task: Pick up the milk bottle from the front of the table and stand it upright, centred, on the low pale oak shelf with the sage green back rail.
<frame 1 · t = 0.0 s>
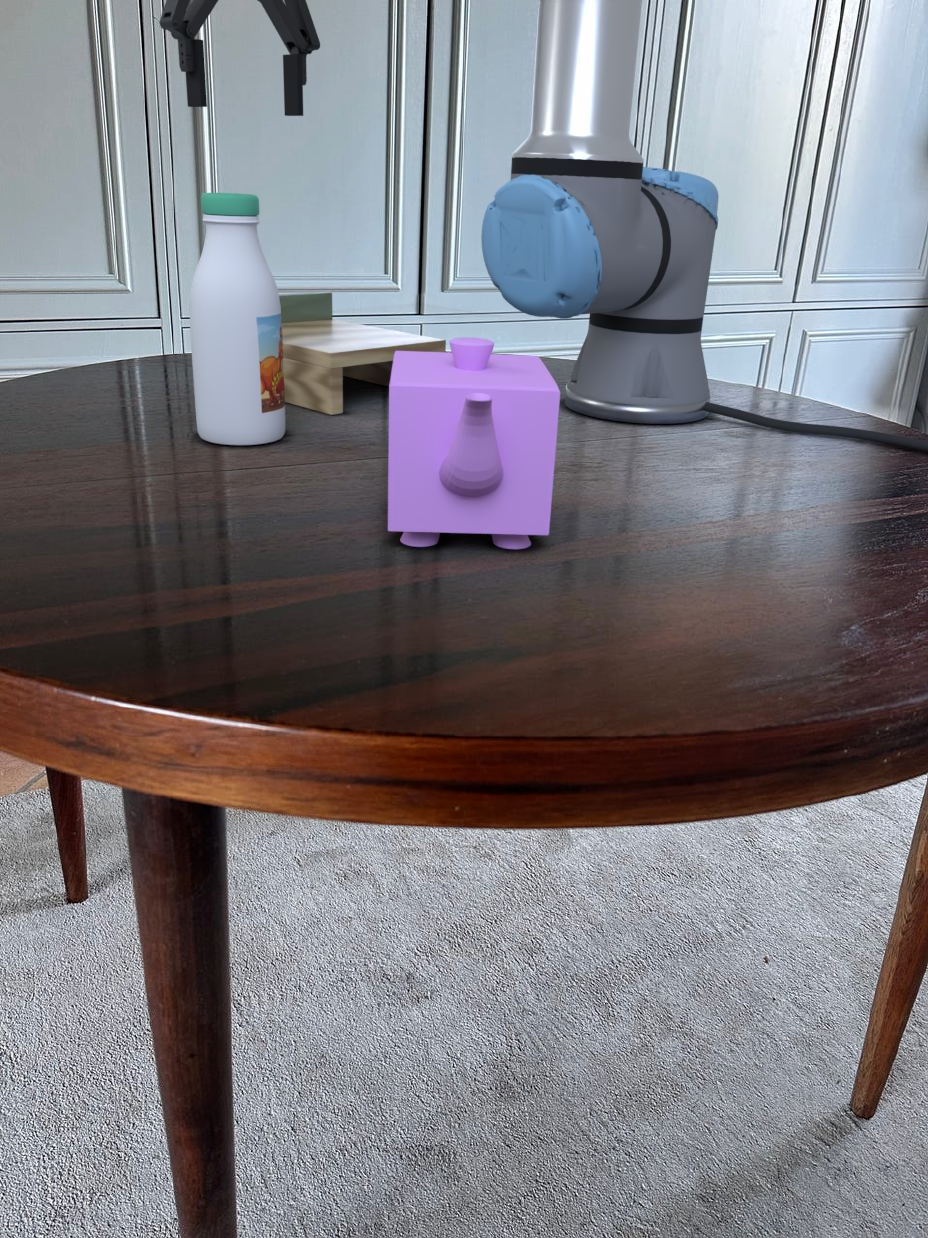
hand: (247, 111, 116), 28 cm above the table, tool pointing down, fingers open, 13 cm apart
shelf: (329, 389, 109), on the table
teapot: (464, 536, 67), on the table
milk bottle: (242, 438, 88), on the table
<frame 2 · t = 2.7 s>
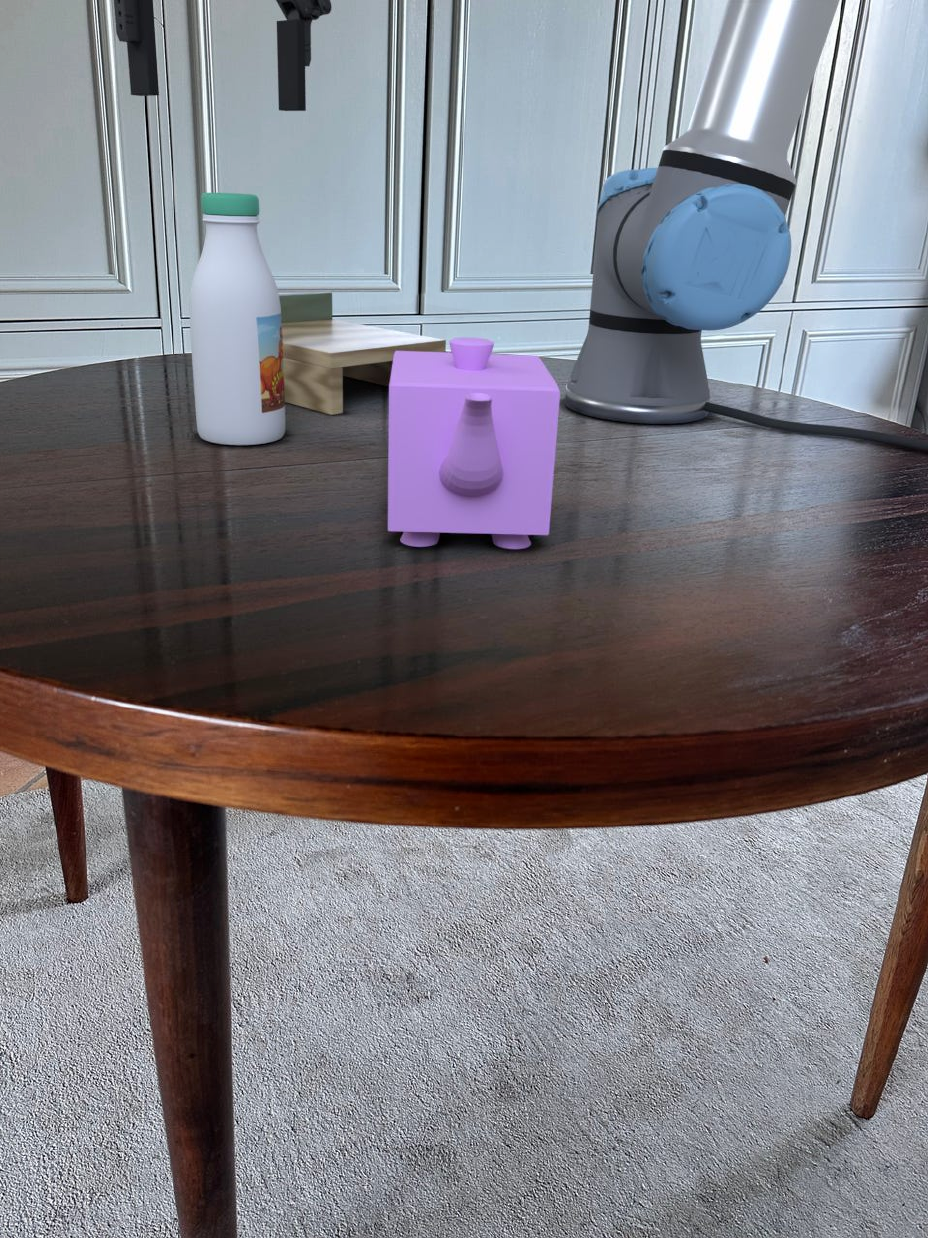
hand: (222, 103, 78), 26 cm above the table, tool pointing down, fingers open, 13 cm apart
nothing on the table moved.
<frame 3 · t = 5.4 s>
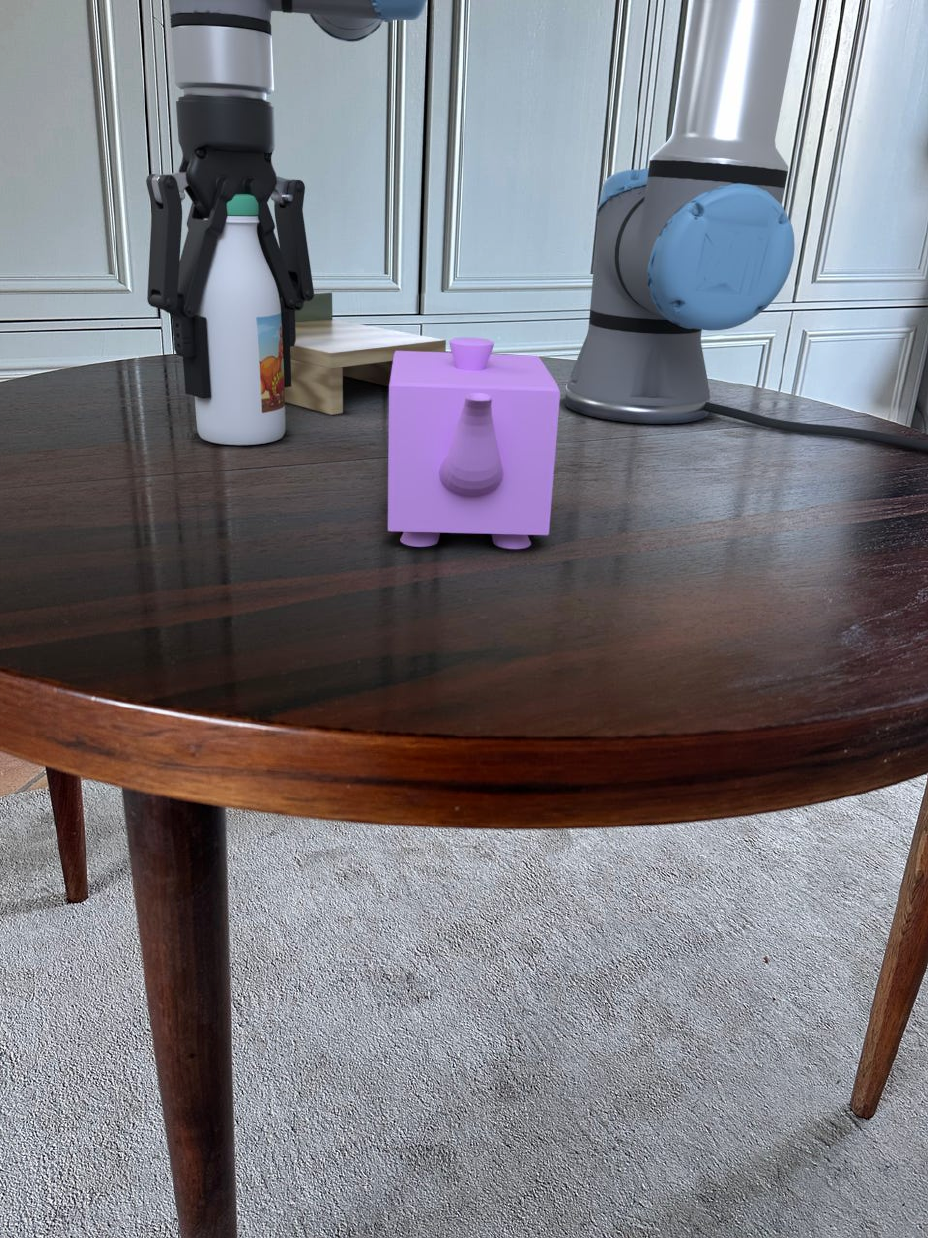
hand: (239, 389, 87), 4 cm above the table, tool pointing down, fingers closed on milk bottle, 8 cm apart
milk bottle: (242, 438, 88), on the table, touching gripper
everything else where it was.
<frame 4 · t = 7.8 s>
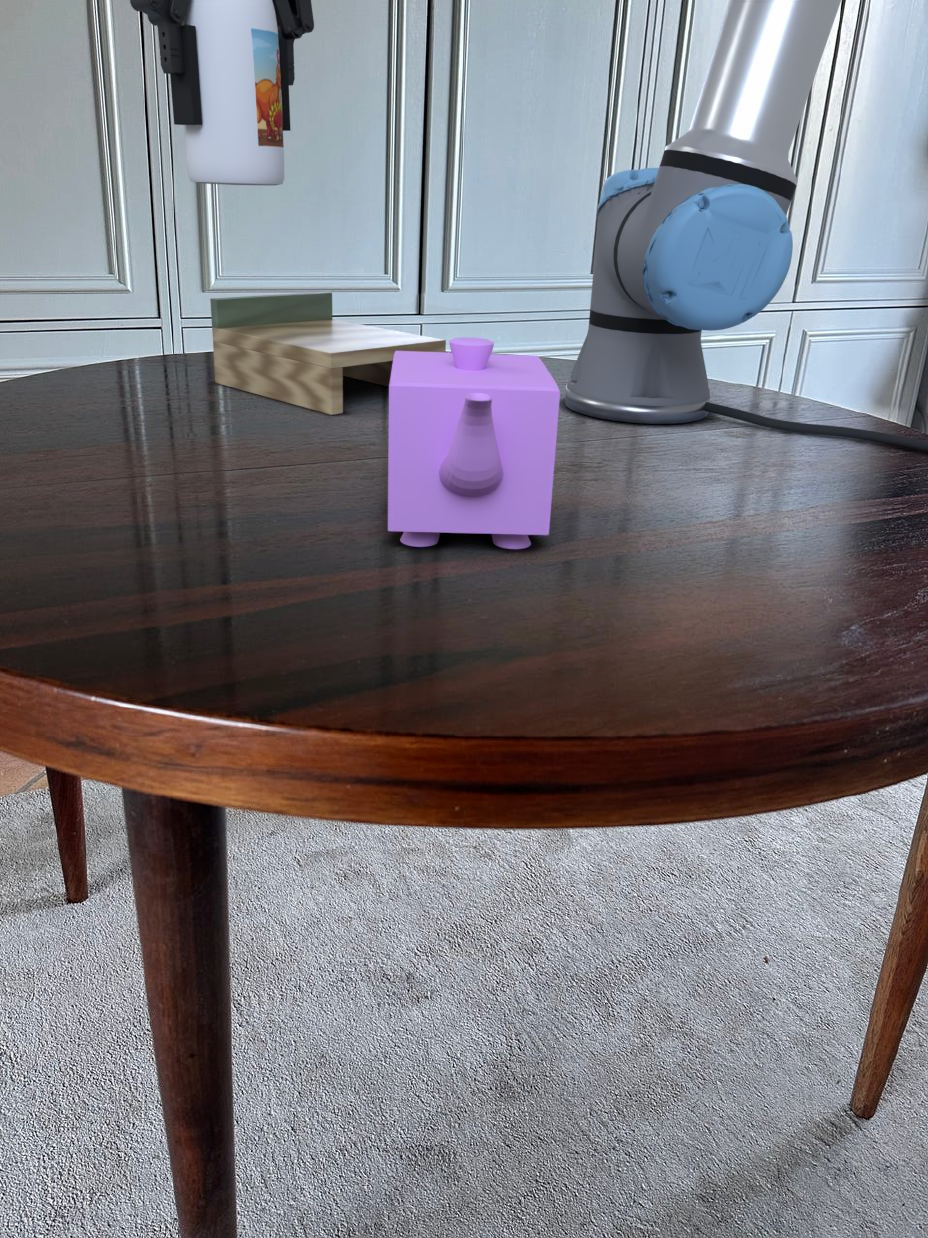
hand: (234, 127, 79), 25 cm above the table, tool pointing down, fingers closed on milk bottle, 8 cm apart
milk bottle: (237, 187, 81), point 20 cm above the table, touching gripper
everything else where it was.
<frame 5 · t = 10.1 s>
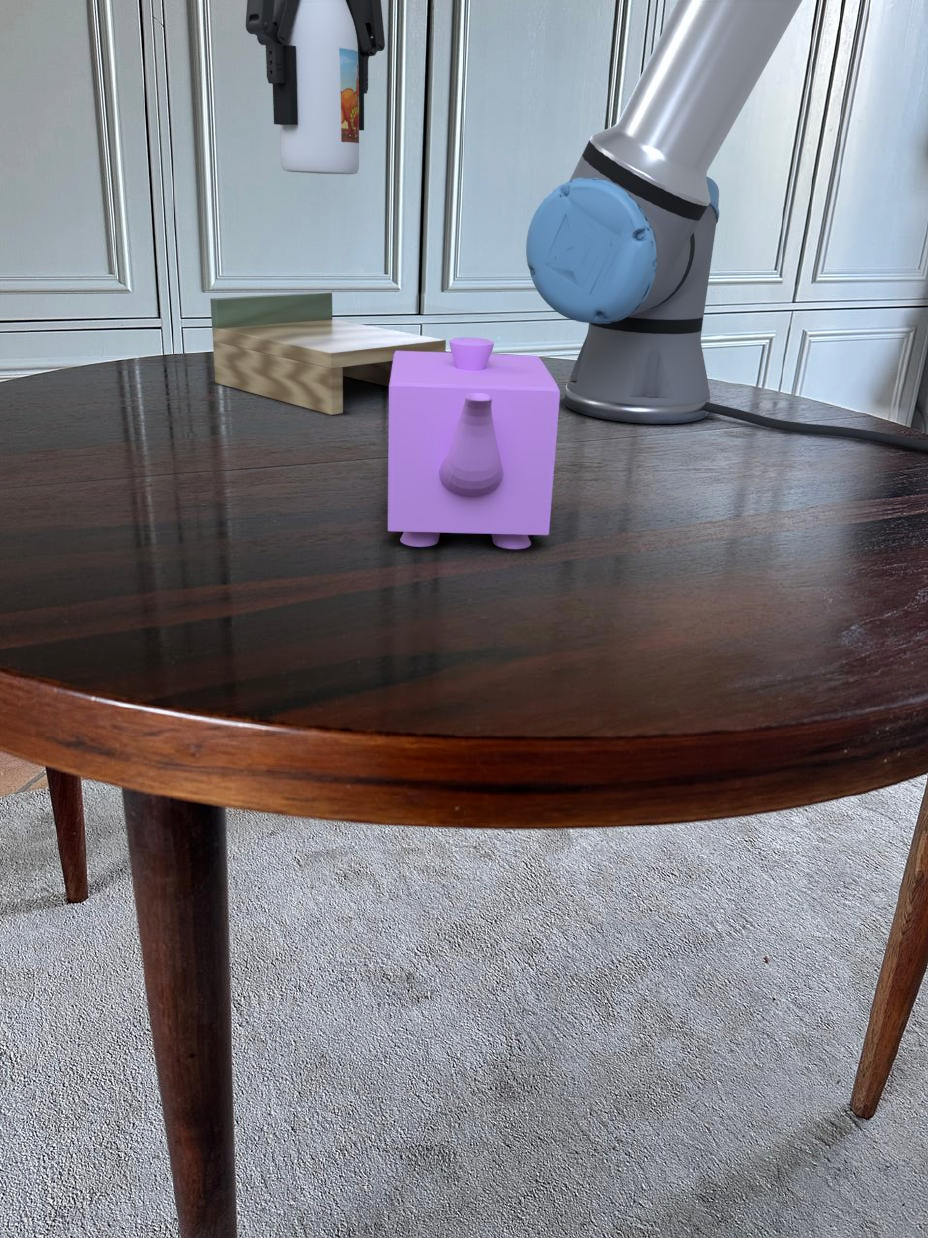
hand: (320, 126, 97), 26 cm above the table, tool pointing down, fingers closed on milk bottle, 8 cm apart
milk bottle: (320, 175, 99), point 22 cm above the table, touching gripper
everything else where it was.
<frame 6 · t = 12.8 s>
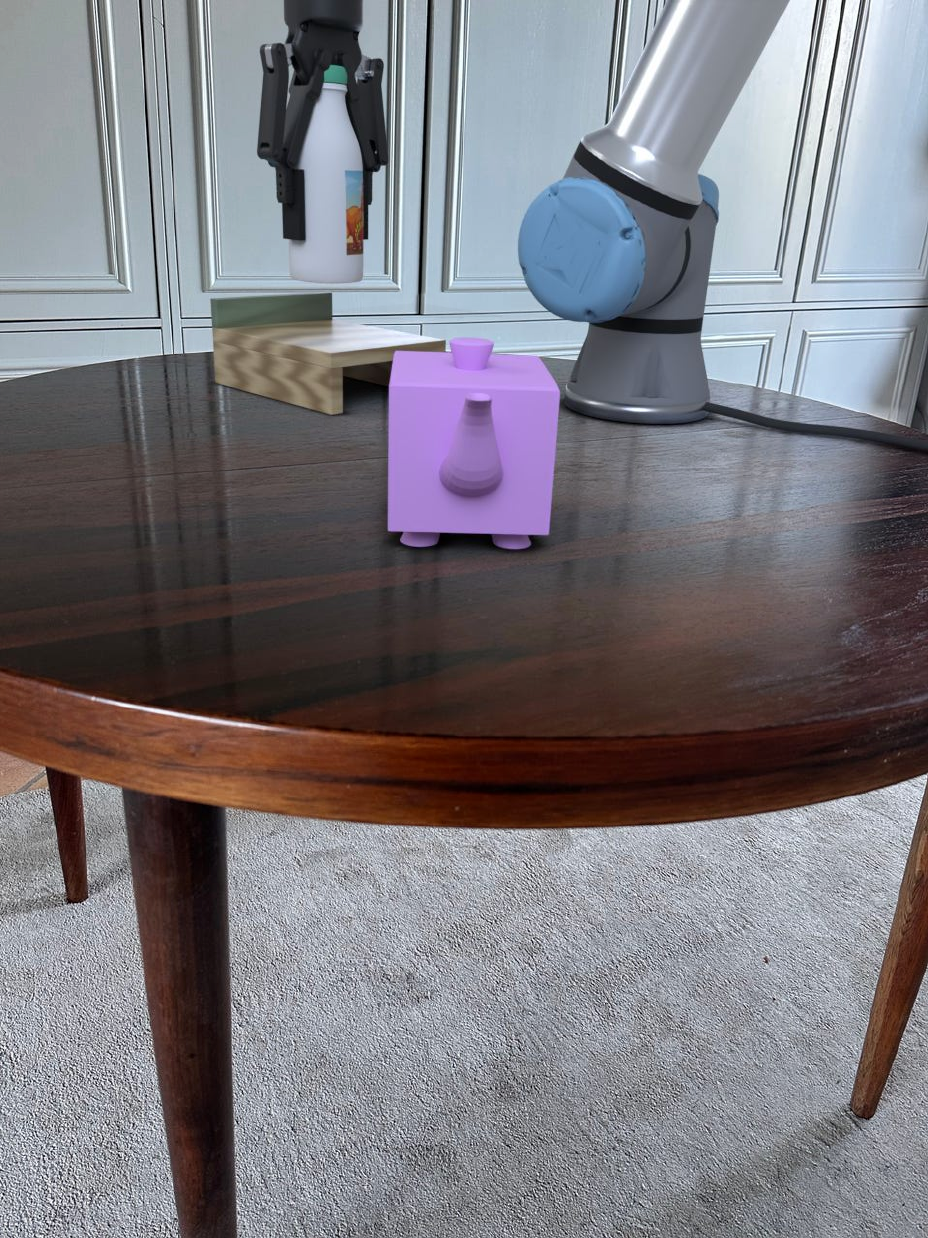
hand: (326, 238, 103), 16 cm above the table, tool pointing down, fingers closed on milk bottle, 8 cm apart
milk bottle: (326, 282, 105), point 11 cm above the table, touching gripper
everything else where it was.
when the fingers open (10 cm above the table, at t = 14.7 s): milk bottle stays where it is, resting on shelf.
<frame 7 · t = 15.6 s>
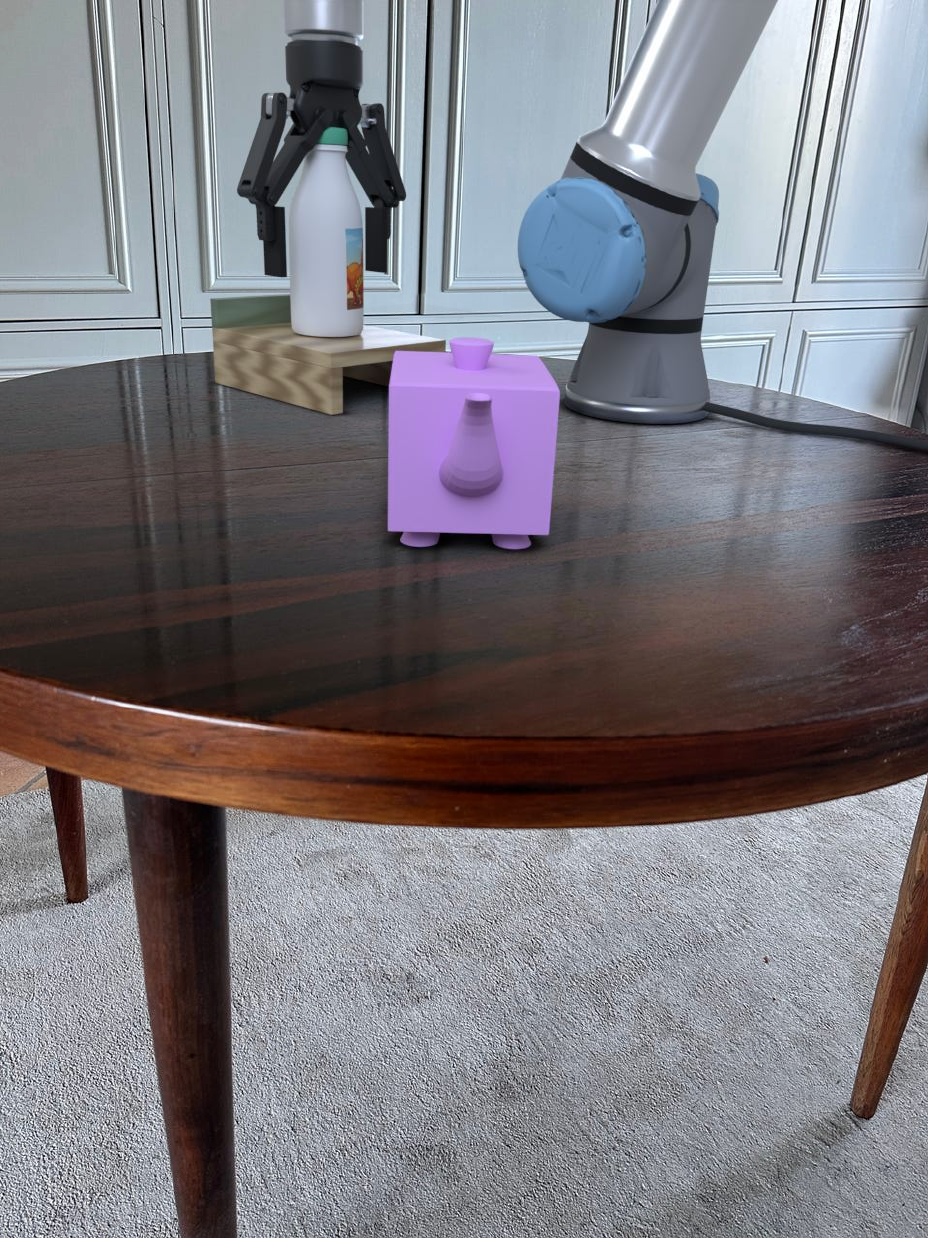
hand: (328, 274, 104), 12 cm above the table, tool pointing down, fingers open, 13 cm apart
milk bottle: (327, 335, 107), point 6 cm above the table, touching shelf
everything else where it was.
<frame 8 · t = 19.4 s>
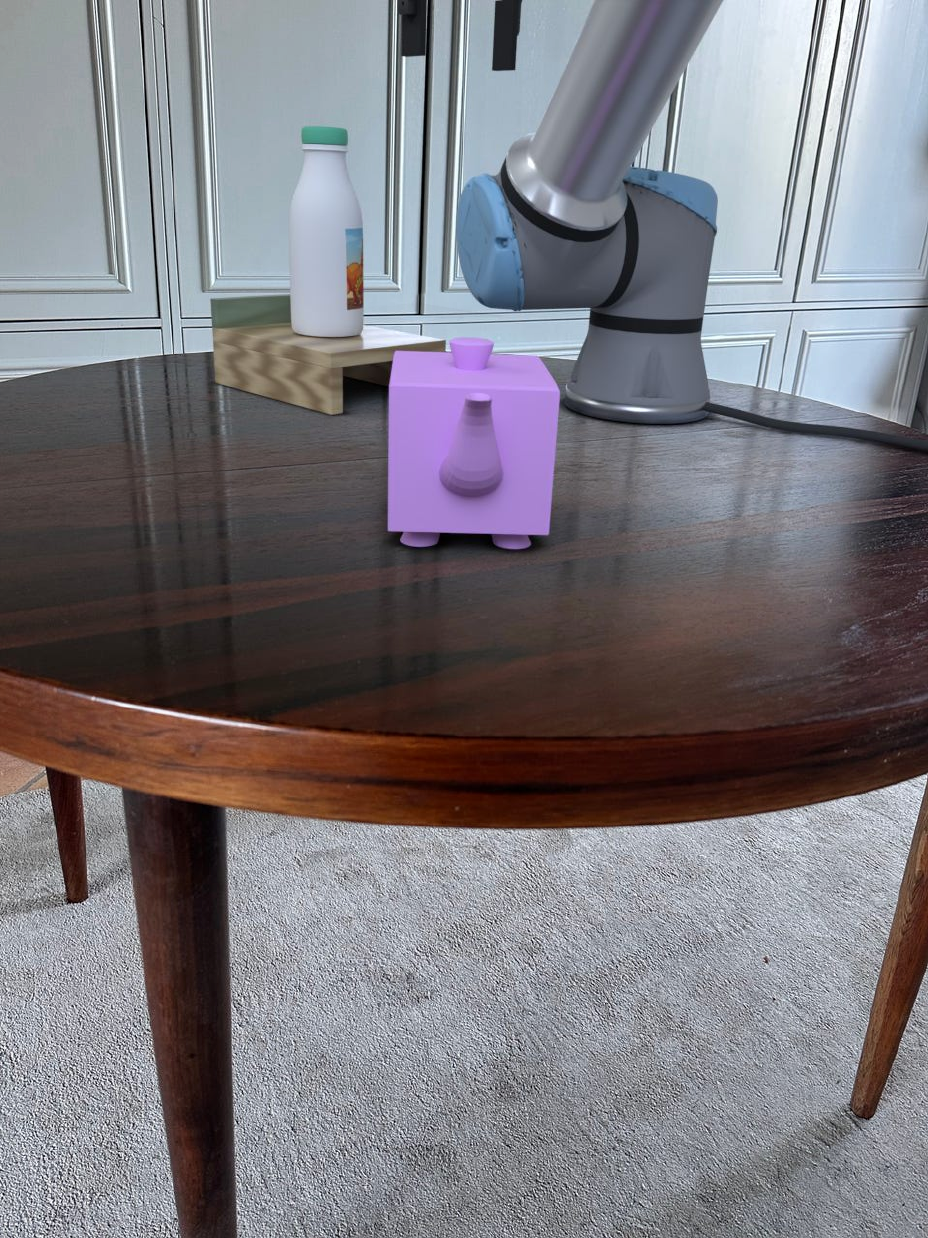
hand: (460, 63, 102), 33 cm above the table, tool pointing down, fingers open, 13 cm apart
nothing on the table moved.
at the end: milk bottle inside the target area on the shelf (0.1 cm from its centre), point 5.8 cm above the shelf's base; milk bottle tilted 0°; the gripper is holding nothing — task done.
